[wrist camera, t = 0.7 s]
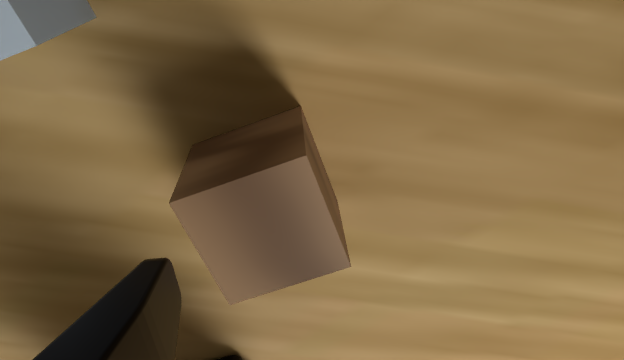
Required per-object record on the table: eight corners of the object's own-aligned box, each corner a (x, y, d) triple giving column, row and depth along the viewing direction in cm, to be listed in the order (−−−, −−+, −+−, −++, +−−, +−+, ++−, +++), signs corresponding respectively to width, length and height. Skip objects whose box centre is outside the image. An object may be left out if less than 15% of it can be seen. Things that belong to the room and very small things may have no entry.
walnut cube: (239, 232, 23) (229, 305, 18) (193, 144, 20) (168, 203, 16) (337, 199, 22) (350, 266, 18) (300, 105, 20) (306, 155, 15)
